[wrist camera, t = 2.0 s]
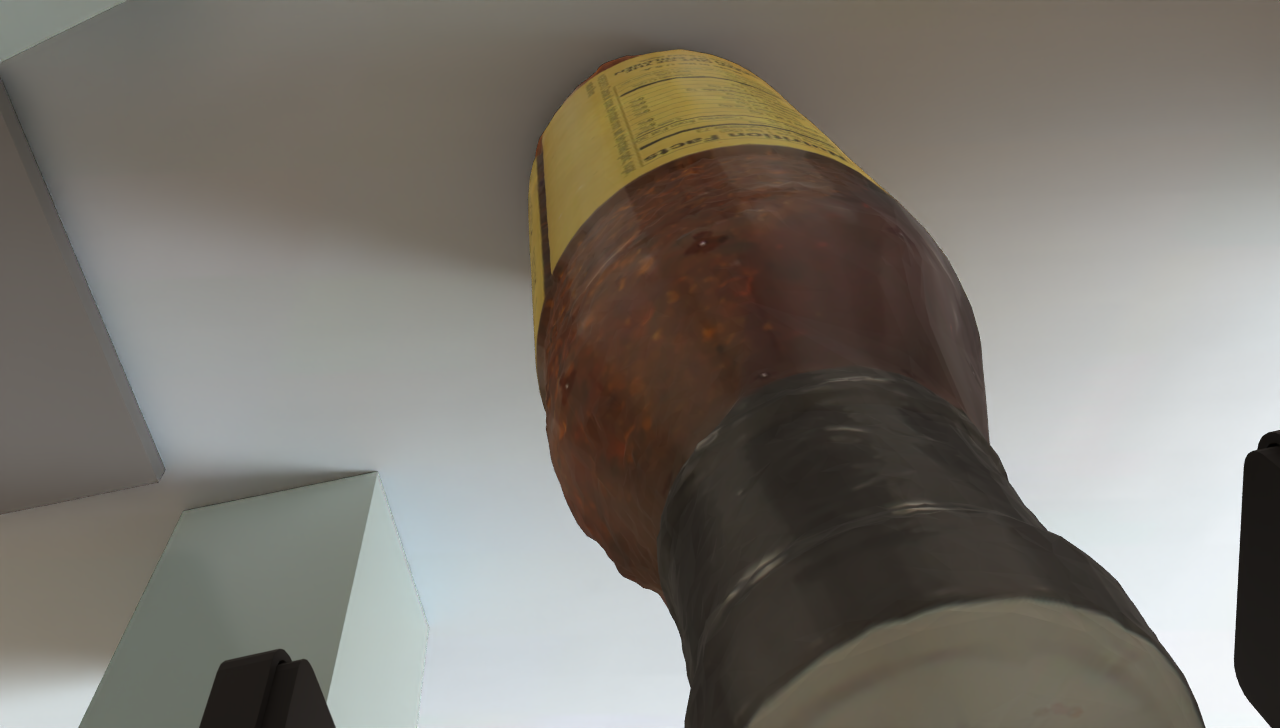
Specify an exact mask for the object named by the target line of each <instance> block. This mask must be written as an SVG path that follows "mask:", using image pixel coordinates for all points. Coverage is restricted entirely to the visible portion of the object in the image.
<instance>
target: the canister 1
mask: <svg viewBox="0 0 1280 728" xmlns="http://www.w3.org/2000/svg"><path fill="white" fill-rule="evenodd" d="M125 1H127V0H0V63H1V62H3V61H5V60H7V59H9V58H11V57H13V56H15V55H17V54H19V53H21V52H23V51H25V50H27V49H29V48H31V47H33V46H35V45H37V44H39V43H41V42H43V41H45V40H47V39H49V38H51V37H53V36H55V35H58V34H60V33H62V32H64V31H66V30H68V29H70V28H72V27H74V26H76V25H78V24H80V23H82V22H84V21H86V20H88V19H90V18H92V17H94V16H96V15H98V14H100V13H102V12H104V11H106V10H108V9H110V8H112V7H114V6H116V5H118V4H120V3H123V2H125Z"/></svg>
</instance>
